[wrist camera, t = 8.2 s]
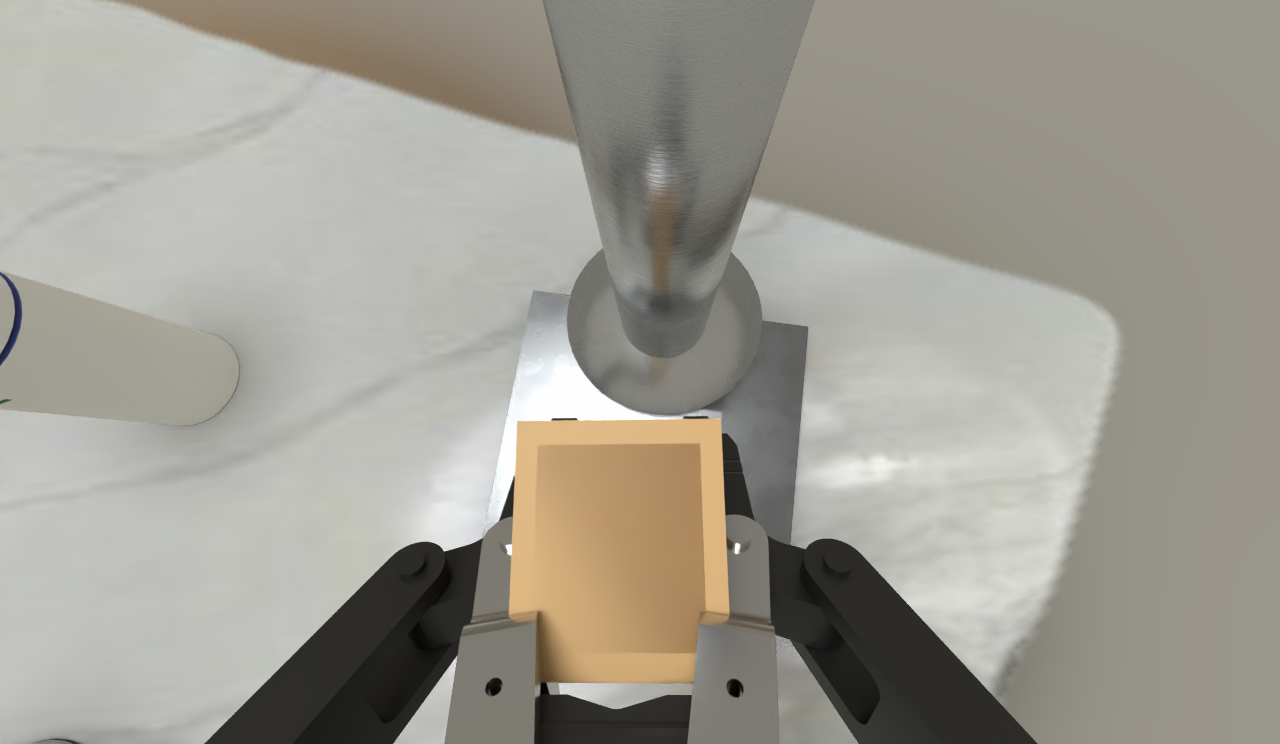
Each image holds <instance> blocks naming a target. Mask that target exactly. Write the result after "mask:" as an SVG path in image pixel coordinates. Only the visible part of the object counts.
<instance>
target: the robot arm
mask: <svg viewBox="0 0 1280 744" xmlns="http://www.w3.org/2000/svg"><path fill="white" fill-rule="evenodd" d="M683 419H709V417H708V416H683ZM561 420H578V418H552V419H551V421H561ZM722 453H723V476H724V499H725V522H726V545H727V568H728V591H729V614H730V616H725V615H719V614H714V613H708V612H702V611H700V620H699V630H698V640H697V650H696V660H695V670H694V681H693V691H692V695H666V696H662V697H659V698H656V699H652V700H649V701H645V702H642V703H639V704H635V705H632V706H629V707H625V708H622V709H611V708H608V707H604V706H601V705H598V704H595V703H592V702H589V701H586V700H583V699H579V698H576V697H573V696H570V695H560V692H559V684H558V683H541V676H542V675H544V668H543V656H542V645H541V634H540V622H539V611H537V612H531V613H525V614H520V615H514V616H509V597H510V574H511V552H512V530H513V507H514V485H515V476H514V477H513V480H512V483H511V486H510V489H509V492H508V495H507V498H506V501H505V504H504V507H503V510H502V513H501V516H500V519H499V521H498V522H497V523H496V524H494V525H493V526H492V527H491V528H490V529H489V530H488V531H487V533H486V534H485V536H484V538H482V539H480V540H479V541H477V542H475V543H472V544H469V545H466V546H463V547H459V548H456V549H452V550H449V551H445V552H444V551H443V550H442V548H441V547H440V546H439V545H437V544H435V543H432V542H419V543H414V544H411V545H409V546H406V547H404V548H403V549H401V550H399V551H398V552H396V553H395V554H394V555H393V556H392V557H391V558H390V559H389V560H388V561H387V562H386V563H385V564H384V565H383V566H382V567H381V568H380V569H379V570H378V571H377V572H376V573H375V574H374V575H373V576H372V577H371V578H370V579H369V580H368V581H367V582H366V583H365V584H364V585H363V586H362V587H361V588H360V589H359V590H358V591H357V592H356V593H355V594H354V595H353V596H352V597H351V598H350V599H349V600H348V601H347V602H346V603H345V604H344V605H343V606H342V607H341V608H340V609H339V610H338V611H337V612H336V613H335V614H334V615H333V616H332V617H331V618H330V619H329V620H328V621H327V622H326V623H325V624H324V625H323V626H322V627H321V628H320V629H319V630H318V631H317V632H316V633H315V634H314V635H313V636H312V637H311V638H310V639H309V640H308V641H307V642H306V643H305V644H304V645H303V646H302V647H301V648H300V649H299V650H298V651H297V652H296V653H295V654H294V655H293V656H292V657H291V658H290V659H289V660H288V661H287V662H286V663H285V664H284V665H283V666H282V667H281V668H280V669H279V670H278V671H277V672H276V673H275V674H274V675H273V676H272V677H271V678H270V679H269V680H268V681H267V682H266V683H265V684H264V685H263V686H262V687H261V688H260V689H259V690H258V691H257V692H256V693H255V694H254V695H253V696H252V697H251V698H250V699H249V700H248V701H247V702H246V703H245V704H244V705H243V706H242V707H241V708H240V709H239V710H238V711H237V712H236V713H235V714H234V715H233V716H232V717H231V718H230V719H229V720H228V721H227V722H226V723H225V724H224V725H223V726H222V727H221V728H220V729H219V730H218V731H217V732H216V733H215V734H214V735H213V736H212V737H211V738H210V739H209V740H208V741H207V742H206V743H205V744H393V743H394V742H395V740H396V739H397V737H398V736H399V735H400V733H401V732H402V731H403V729H404V728H405V726H406V725H407V724H408V722H409V721H410V720H411V718H412V717H413V715H414V714H415V713H416V711H417V710H418V709H419V707H420V706H421V704H422V703H423V702H424V700H425V699H426V698H427V696H428V695H429V693H430V692H431V691H432V689H433V688H434V687H435V685H436V684H437V682H438V681H439V680H440V678H441V677H442V676H443V674H444V673H445V671H446V670H447V669H448V667H449V666H450V665H451V663H452V662H453V660H454V659H455V658H456V656H457V655H458V656H457V663H456V670H455V677H454V683H453V690H452V697H451V704H450V710H449V717H448V724H447V730H446V737H445V744H779V721H778V693H777V665H776V639H775V635H778V636H781V637H784V638H787V639H790V641H791V642H792V644H793V645H794V647H795V648H796V650H797V651H798V653H799V654H800V656H801V657H802V659H803V660H804V662H805V663H806V665H807V666H808V668H809V669H810V671H811V672H812V674H813V675H814V677H815V678H816V680H817V682H818V683H819V685H820V686H821V688H822V689H823V691H824V692H825V694H826V695H827V697H828V698H829V700H830V701H831V703H832V704H833V706H834V707H835V709H836V710H837V712H838V713H839V715H840V716H841V718H842V719H843V721H844V722H845V724H846V725H847V727H848V728H849V730H850V731H851V733H852V734H853V736H854V737H855V739H856V740H857V742H858V743H859V744H1037V743H1036V742H1035V741H1034V740H1033V738H1032V737H1031V736H1030V735H1029V734H1028V733H1027V732H1026V731H1025V730H1024V729H1023V728H1022V727H1021V725H1019V724H1018V722H1017V721H1016V720H1015V719H1014V718H1013V717H1012V716H1011V715H1010V714H1009V713H1008V712H1007V710H1006V709H1005V708H1004V707H1003V706H1002V705H1001V704H1000V703H999V702H998V701H997V700H996V699H995V698H994V696H993V695H992V694H991V693H990V692H989V691H988V690H987V689H986V688H985V687H984V686H983V685H982V684H981V682H980V681H979V680H978V679H977V678H976V677H975V676H974V675H973V674H972V673H971V672H970V671H969V670H968V669H967V667H966V666H965V665H964V664H963V663H962V662H961V661H960V660H959V659H958V658H957V657H956V656H955V655H954V653H953V652H952V651H951V650H950V649H949V648H948V647H947V646H946V645H945V644H944V643H943V642H942V641H941V639H940V638H939V637H938V636H937V635H936V634H935V633H934V632H933V631H932V630H931V629H930V628H929V627H928V626H927V624H926V623H925V622H924V621H923V620H922V619H921V618H920V617H919V616H918V615H917V614H916V613H915V612H914V610H913V609H912V608H911V607H910V606H909V605H908V604H907V603H906V602H905V601H904V600H903V599H902V598H901V596H900V595H899V594H898V593H897V592H896V591H895V590H894V589H893V588H892V587H891V586H890V585H889V584H888V583H887V581H886V580H885V579H884V578H883V577H882V576H881V575H880V574H879V573H878V572H877V571H876V570H875V569H874V567H873V566H872V565H871V564H870V563H869V562H868V561H867V560H866V559H865V558H864V557H863V556H862V555H861V554H860V553H859V552H858V551H857V550H856V549H855V548H853V547H852V546H850V545H848V544H847V543H844V542H842V541H839V540H835V539H820V540H816V541H814V542H812V543H811V544H810V545H809V546H808V547H807V548H806V549H802V548H799V547H795V546H792V545H788V544H785V543H782V542H779V541H777V540H775V539H773V538H771V537H769V536H768V535H767V534H766V533H765V531H764V529H763V528H762V527H761V526H760V525H759V524H758V523H757V522H756V521H755V519H754V516H753V512H752V508H751V503H750V499H749V495H748V490H747V486H746V482H745V477H744V474H743V469H742V464H741V462H740V456H739V451H738V447H737V445H736V443H735V442H734V441H733V440H732V439H731V437H730V436H729V435H728V434H727V433H722ZM33 744H72V743H70V742H67V741H62V740H46V741H40V742H35V743H33Z"/></svg>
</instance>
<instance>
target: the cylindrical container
mask: <svg viewBox="0 0 1280 744" xmlns="http://www.w3.org/2000/svg"><path fill="white" fill-rule="evenodd" d="M238 378H239V363H238V358H237V356H236V353H235V351H234V350H233V348H232V347H231V346H230V345H229V344H228V343H227V342H226V341H225V340H223V339H221V338H219V337H217V336H214V335H211V334H208V333H204V332H201V331H198V330H195V329H191V328H188V327H185V326H181V325H178V324H175V323H172V322H168V321H165V320H162V319H159V318H155V317H152V316H149V315H145V314H142V313H139V312H136V311H132V310H129V309H126V308H123V307H119V306H116V305H113V304H109V303H106V302H103V301H99V300H96V299H93V298H89V297H86V296H83V295H79V294H76V293H73V292H69V291H66V290H63V289H60V288H56V287H53V286H50V285H46V284H43V283H40V282H36V281H33V280H30V279H26V278H23V277H20V276H16V275H13V274H10V273H6V272H3V271H0V409H4V410H15V411H26V412H37V413H48V414H59V415H70V416H81V417H91V418H102V419H113V420H124V421H135V422H146V423H157V424H168V425H180V426H188V425H195V424H198V423H201V422H204V421H206V420H208V419H210V418H211V417H213V416H214V415H216V414H217V413H218V412H220V411H221V409H222V408H223V407H224V406H225V405H226V404H227V403H228V401H229V400H230V398H231V397H232V395H233V393H234V391H235V389H236V387H237V383H238Z"/></svg>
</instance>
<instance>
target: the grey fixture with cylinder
mask: <svg viewBox="0 0 1280 744" xmlns="http://www.w3.org/2000/svg"><path fill="white" fill-rule="evenodd" d="M814 2H815V0H543V4H544V8H545V12H546V16H547V20H548V24H549V28H550V32H551V36H552V40H553V45H554V49H555V53H556V57H557V61H558V65H559V69H560V73H561V78H562V82H563V86H564V90H565V94H566V98H567V102H568V106H569V110H570V114H571V119H572V123H573V127H574V131H575V135H576V139H577V143H578V147H579V151H580V155H581V159H582V164H583V168H584V172H585V176H586V180H587V184H588V188H589V192H590V196H591V200H592V205H593V209H594V213H595V217H596V221H597V225H598V229H599V233H600V237H601V241H602V246H603V249H602V250H600V251H599V252H598V253H597V254H596V255H595V256H594V257H593V258H592V259H591V260H590V261H589V262H588V264H587V265H586V266H585V267H584V269H583V270H582V272H581V273H580V275H579V277H578V279H577V280H576V282H575V285H574V287H573V290H572V292H571V295H563V294H555V293H548V292H540V291H533V295H532V300H531V305H530V310H529V314H528V319H527V324H526V329H525V334H524V339H523V343H522V348H521V353H520V358H519V363H518V367H517V372H516V377H515V382H514V387H513V391H512V396H511V401H510V406H509V411H508V416H507V420H506V425H505V430H504V435H503V440H502V444H501V449H500V454H499V459H498V464H497V469H496V473H495V478H494V483H493V488H492V493H491V497H490V502H489V507H488V512H487V517H486V522H485V526H484V531H483V536H482V538H484V536H485V534H486V533H487V531H488V530H489V529H490V528H491V527H492V526H493V525H494V524H496V523H497V522H498V521H499V519H500V516H501V513H502V510H503V507H504V504H505V501H506V498H507V495H508V492H509V489H510V486H511V483H512V480H513V477H514V476H515V462H516V440H517V421H551V419H552V418H578V420H645V419H683V416H708V417H709V419H721V431H722V433H727V434H728V435H729V436H730V437H731V439H732V440H733V441H734V442H735V443H736V445H737V447H738V451H739V456H740V462H741V464H742V469H743V474H744V477H745V482H746V486H747V490H748V495H749V499H750V503H751V508H752V512H753V516H754V519H755V521H756V522H757V523H758V524H759V525H760V526H761V527H762V528H763V529H764V531H765V533H766V534H767V535H768V536H769V537H771V538H773V539H775V540H777V541H779V542H782V543H785V544H788V545H790V539H791V527H792V515H793V503H794V491H795V479H796V467H797V455H798V443H799V431H800V419H801V407H802V396H803V384H804V372H805V360H806V348H807V336H808V327H806V326H799V325H791V324H783V323H776V322H768V321H762V312H761V304H760V300H759V296H758V292H757V290H756V287H755V285H754V282H753V280H752V279H751V277H750V275H749V273H748V271H747V270H746V269H745V267H744V266H743V265H742V263H741V262H740V261H739V260H738V259H737V258H736V257H735V256H734V255H733V254H732V253H731V249H732V246H733V243H734V240H735V237H736V234H737V231H738V228H739V225H740V222H741V219H742V216H743V213H744V210H745V207H746V204H747V201H748V198H749V196H750V193H751V190H752V187H753V184H754V181H755V177H756V174H757V172H758V169H759V166H760V163H761V160H762V157H763V154H764V151H765V148H766V145H767V142H768V139H769V136H770V133H771V130H772V127H773V124H774V121H775V118H776V115H777V112H778V109H779V106H780V103H781V100H782V97H783V94H784V91H785V88H786V85H787V82H788V79H789V76H790V74H791V70H792V67H793V65H794V62H795V58H796V56H797V52H798V50H799V47H800V44H801V41H802V38H803V34H804V32H805V29H806V26H807V23H808V20H809V17H810V14H811V11H812V8H813V5H814Z"/></svg>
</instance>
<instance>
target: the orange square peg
mask: <svg viewBox="0 0 1280 744" xmlns="http://www.w3.org/2000/svg"><path fill="white" fill-rule="evenodd" d="M537 611H539V622H540V634H541V645H542V656H543V668H544V675H542V676H541V683H693V681H694V670H695V660H696V650H697V640H698V630H699V620H700V611H702V612H708V613H714V614H719V615H725V616H730V614H729V591H728V568H727V545H726V522H725V499H724V476H723V453H722V431H721V419H645V420H561V421H517V440H516V462H515V485H514V507H513V530H512V552H511V574H510V597H509V616H514V615H520V614H525V613H531V612H537Z"/></svg>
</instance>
